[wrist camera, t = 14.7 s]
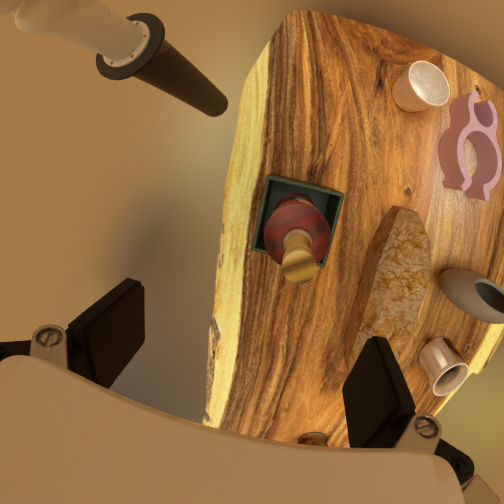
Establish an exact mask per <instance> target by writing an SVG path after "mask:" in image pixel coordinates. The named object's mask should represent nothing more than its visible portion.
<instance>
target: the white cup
mask: <svg viewBox="0 0 504 504" xmlns="http://www.w3.org/2000/svg"><path fill="white" fill-rule="evenodd" d="M392 96H393V99H394V101H395V102H396V104H397V105H398V106H399V107H400V108H401V109H403V110H405V111H407V112H416V111H422V110H426V109H430V108H434V107H438V106H442V105H444V104H445V103H446V102H447V101H448V99H449V96H450V88H449V84H448V81H447V79H446V77H445V76H444V74H443V73H442V72H441V70H440V69H439V68H437V67H436V66H435V65H433V64H431V63H429V62H426V61H417V62H415V63H413V64H412V65H411V66H410V67H409V68H408V69H407V70H406V71H405V72H404V73H403V74H402V75H401V76H400V77H399V78H398V80H397V81H396V82H395V83H394V85H393V86H392Z"/></svg>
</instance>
